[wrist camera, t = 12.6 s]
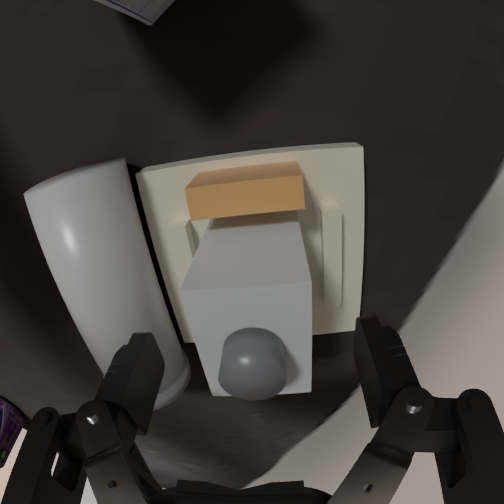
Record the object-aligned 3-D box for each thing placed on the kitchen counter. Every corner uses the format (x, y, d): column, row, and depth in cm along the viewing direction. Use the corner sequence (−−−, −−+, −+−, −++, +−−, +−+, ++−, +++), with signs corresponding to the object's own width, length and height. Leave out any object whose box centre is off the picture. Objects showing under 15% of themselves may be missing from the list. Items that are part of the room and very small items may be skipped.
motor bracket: (59, 172, 18) (-7, 209, 12) (354, 124, 16) (401, 143, 10) (123, 346, 24) (95, 407, 19) (352, 334, 23) (370, 405, 17)
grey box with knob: (211, 216, 17) (167, 320, 9) (295, 208, 17) (317, 311, 9) (228, 306, 20) (207, 423, 12) (300, 301, 19) (313, 420, 12)
